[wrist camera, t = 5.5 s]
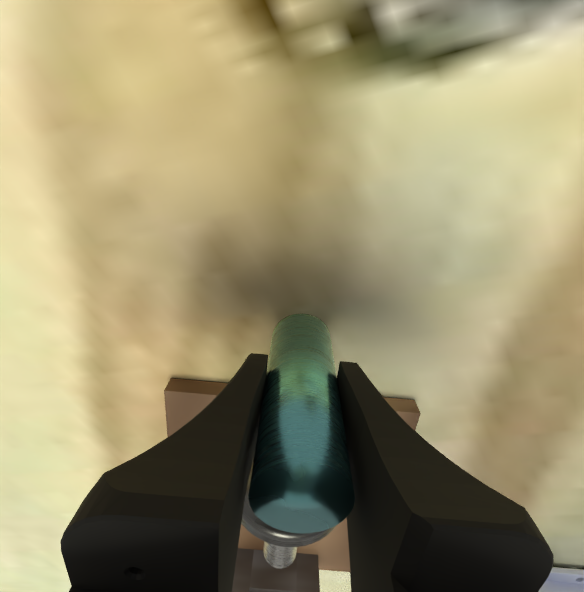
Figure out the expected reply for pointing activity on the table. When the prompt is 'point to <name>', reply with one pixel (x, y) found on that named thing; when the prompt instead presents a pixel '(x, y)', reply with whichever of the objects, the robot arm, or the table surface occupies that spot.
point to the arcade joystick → (298, 445)
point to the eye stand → (250, 557)
